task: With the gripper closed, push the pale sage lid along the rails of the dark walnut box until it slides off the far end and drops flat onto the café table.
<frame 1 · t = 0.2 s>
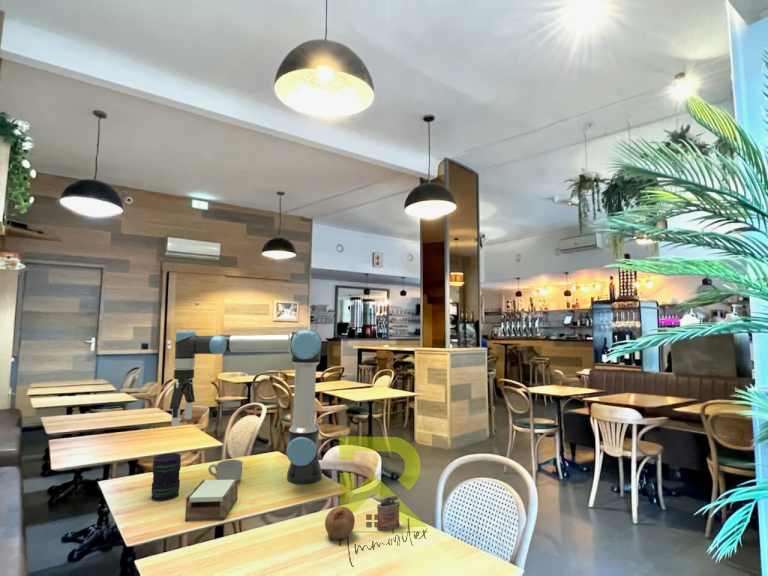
hand: (181, 422, 176), 27 cm above the table, fingers open, 13 cm apart
dark blue barrel: (165, 496, 170), on the table
brown rounded piece: (339, 537, 138), on the table
lighter: (388, 528, 144), on the table
box: (212, 509, 158), on the table
teacup: (225, 482, 185), on the table
lid: (213, 492, 158), point 6 cm above the table, touching box
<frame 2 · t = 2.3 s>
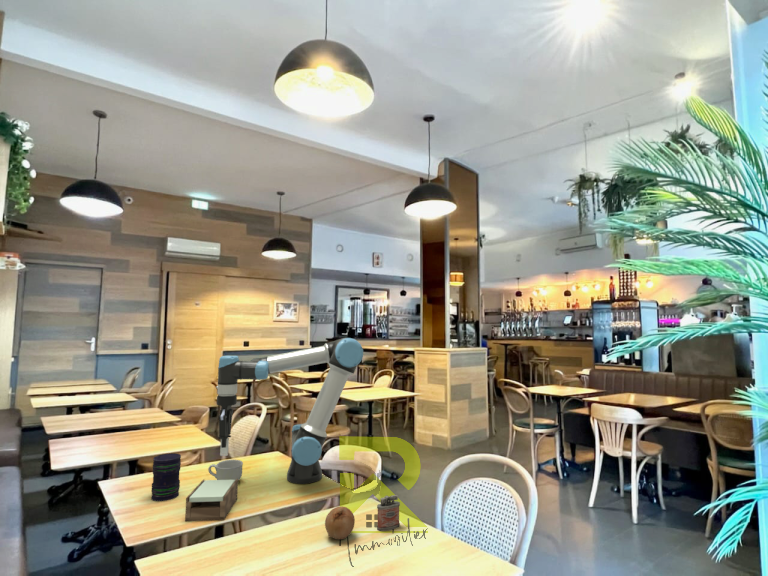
hand: (224, 455, 173), 15 cm above the table, fingers closed
nothing on the table moved.
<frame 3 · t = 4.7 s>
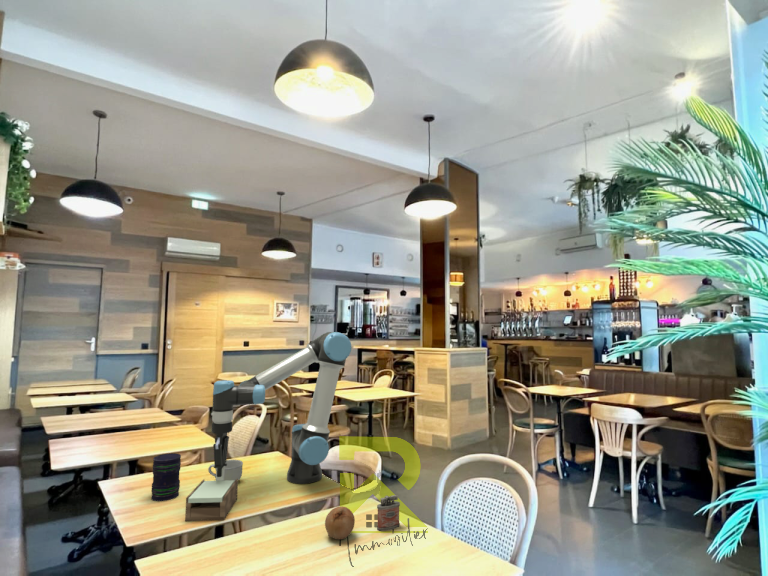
hand: (219, 484, 166), 6 cm above the table, fingers closed
lid: (212, 493, 157), point 6 cm above the table, touching box, gripper
everything else where it was.
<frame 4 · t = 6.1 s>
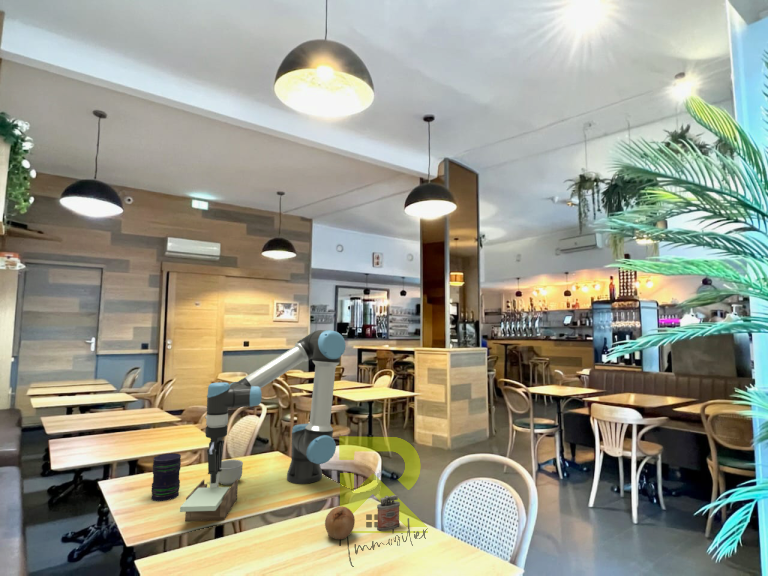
hand: (214, 491, 159), 6 cm above the table, fingers closed
lid: (206, 500, 150), point 6 cm above the table, touching box, gripper
everything else where it was.
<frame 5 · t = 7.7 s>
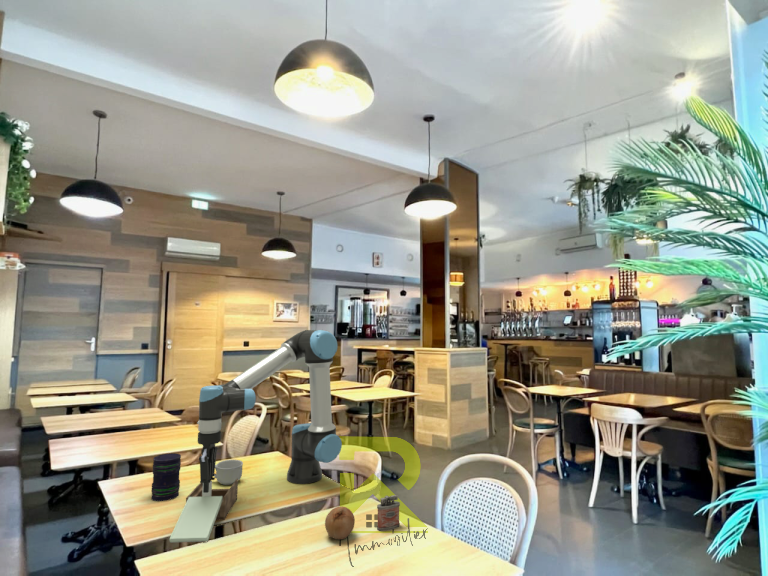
hand: (206, 500, 151), 6 cm above the table, fingers closed
lid: (197, 519, 142), point 3 cm above the table, tilted 22°, touching box
everything else where it was.
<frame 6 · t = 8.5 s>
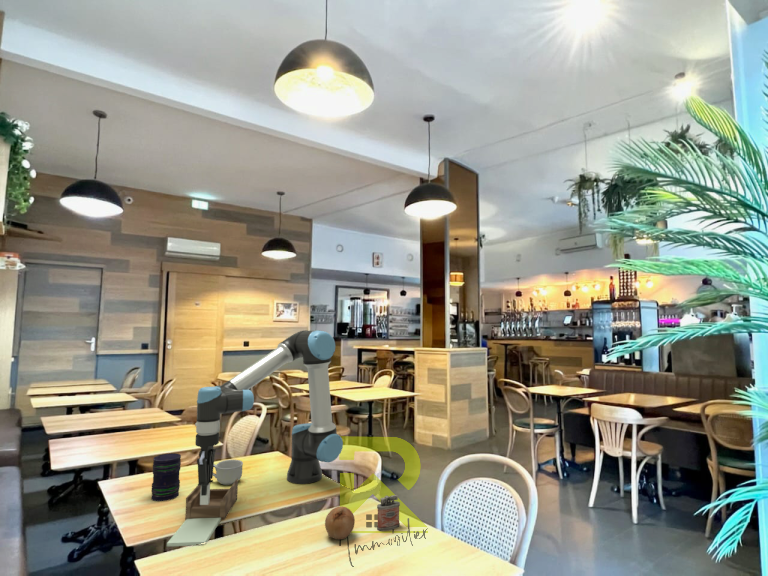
hand: (204, 503, 148), 6 cm above the table, fingers closed
lid: (195, 534, 140), on the table
everything else where it was.
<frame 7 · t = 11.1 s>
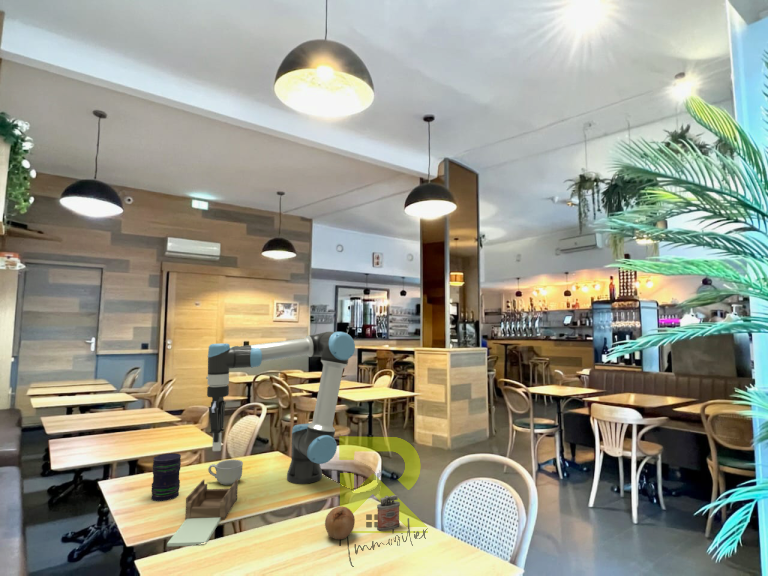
hand: (216, 450, 160), 21 cm above the table, fingers closed
nothing on the table moved.
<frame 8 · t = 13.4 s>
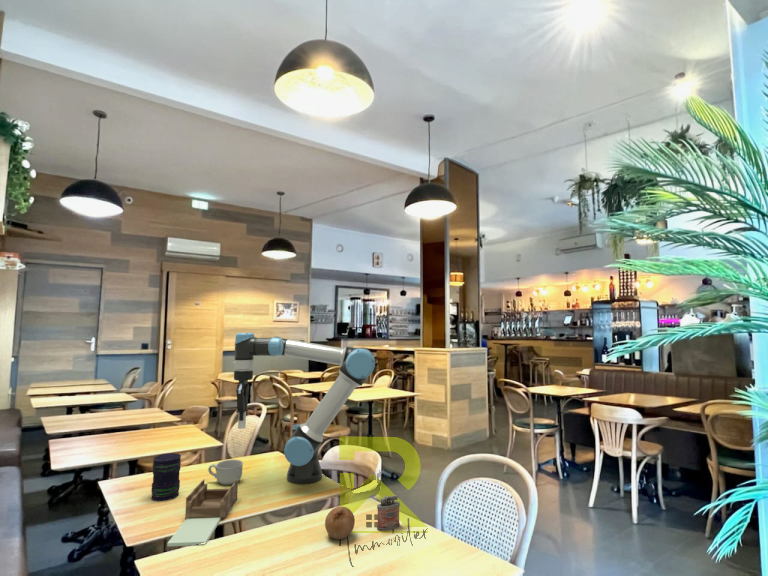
hand: (241, 428, 179), 24 cm above the table, fingers closed
nothing on the table moved.
at the end: lid inside the target area (6.4 cm from its centre), on the table; lid tilted 0°; lid moved 18.9 cm from its start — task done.
